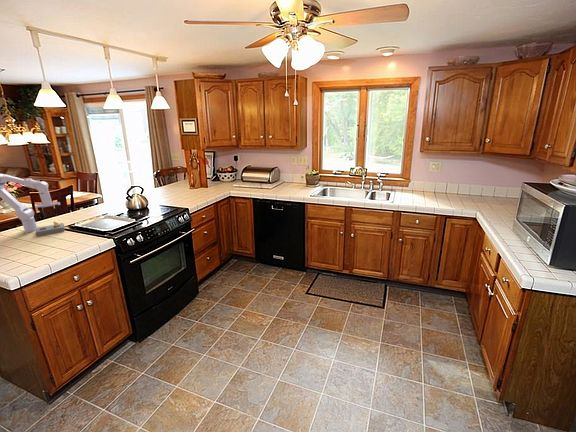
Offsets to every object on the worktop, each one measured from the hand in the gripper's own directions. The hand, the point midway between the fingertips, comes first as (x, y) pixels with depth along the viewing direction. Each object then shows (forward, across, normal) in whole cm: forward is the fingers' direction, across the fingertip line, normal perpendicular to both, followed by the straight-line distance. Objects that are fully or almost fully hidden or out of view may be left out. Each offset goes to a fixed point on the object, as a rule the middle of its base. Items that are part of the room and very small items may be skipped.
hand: (51, 215), depth 220 cm
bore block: (+9, -2, -8) cm, 13 cm away
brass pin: (+9, +2, -8) cm, 12 cm away
